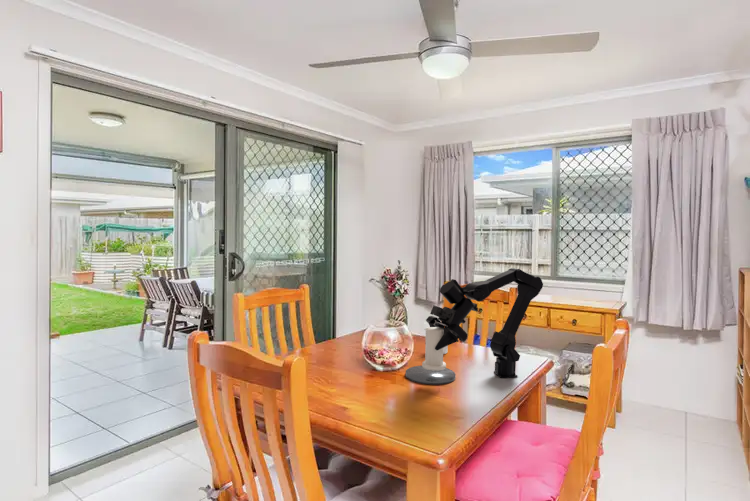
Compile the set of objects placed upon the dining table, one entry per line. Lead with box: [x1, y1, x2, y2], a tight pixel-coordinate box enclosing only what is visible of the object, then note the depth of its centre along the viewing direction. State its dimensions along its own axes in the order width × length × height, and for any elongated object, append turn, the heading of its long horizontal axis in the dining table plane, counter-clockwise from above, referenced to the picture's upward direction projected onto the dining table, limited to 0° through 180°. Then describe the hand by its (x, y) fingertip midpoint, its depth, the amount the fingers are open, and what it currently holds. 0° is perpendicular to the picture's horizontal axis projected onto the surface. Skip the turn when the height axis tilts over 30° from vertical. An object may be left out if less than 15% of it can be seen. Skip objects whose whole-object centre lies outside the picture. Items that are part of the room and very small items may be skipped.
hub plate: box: [405, 365, 457, 386], centre depth 162 cm, size 18×18×1 cm
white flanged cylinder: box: [421, 326, 447, 371], centre depth 151 cm, size 8×8×13 cm
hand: (430, 347), depth 151 cm, fingers closed on white flanged cylinder, 6 cm apart
